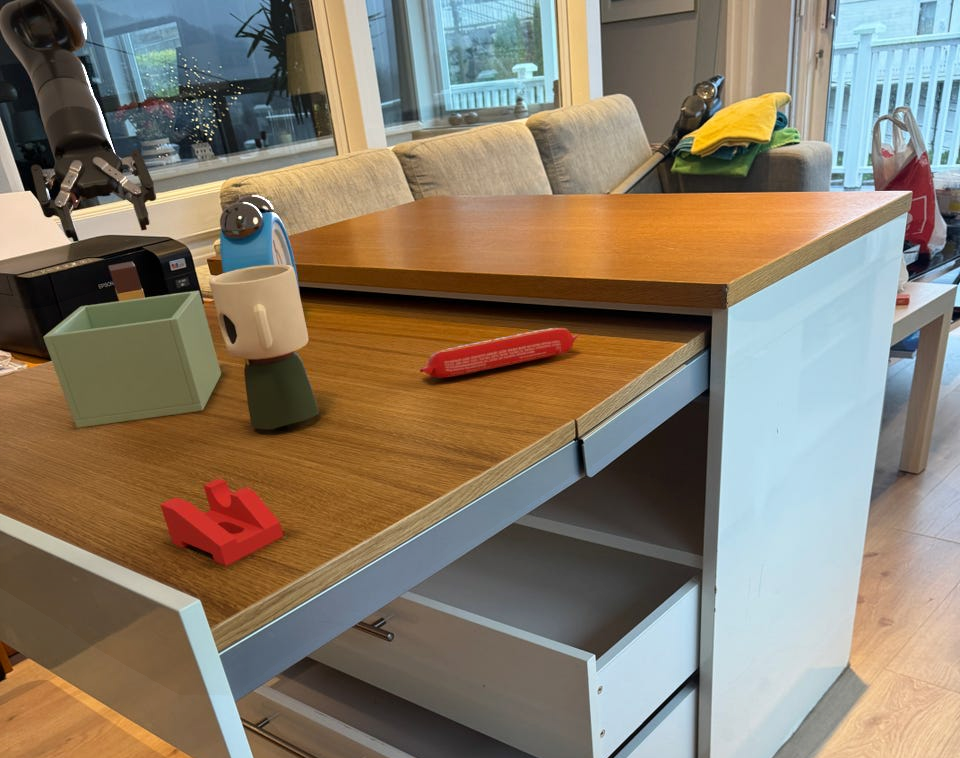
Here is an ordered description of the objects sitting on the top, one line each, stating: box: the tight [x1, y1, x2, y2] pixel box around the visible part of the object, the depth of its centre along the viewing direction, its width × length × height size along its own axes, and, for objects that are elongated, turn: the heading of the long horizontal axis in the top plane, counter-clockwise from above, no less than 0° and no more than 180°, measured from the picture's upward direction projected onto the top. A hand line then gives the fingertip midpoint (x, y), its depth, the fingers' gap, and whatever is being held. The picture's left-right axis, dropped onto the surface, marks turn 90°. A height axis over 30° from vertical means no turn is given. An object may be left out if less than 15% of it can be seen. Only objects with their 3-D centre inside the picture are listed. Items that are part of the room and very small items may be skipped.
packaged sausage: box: [419, 327, 580, 379], centre depth 88 cm, size 16×4×3 cm, turn 108°
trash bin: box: [43, 290, 222, 429], centre depth 90 cm, size 12×12×9 cm
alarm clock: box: [219, 194, 300, 291], centre depth 108 cm, size 13×6×15 cm, turn 0°
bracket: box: [159, 478, 284, 567], centre depth 62 cm, size 6×5×3 cm
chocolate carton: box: [108, 261, 146, 301], centre depth 113 cm, size 4×3×9 cm
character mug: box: [208, 265, 320, 430], centre depth 78 cm, size 11×7×13 cm, turn 13°
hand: (109, 231), depth 115 cm, fingers open, 8 cm apart
